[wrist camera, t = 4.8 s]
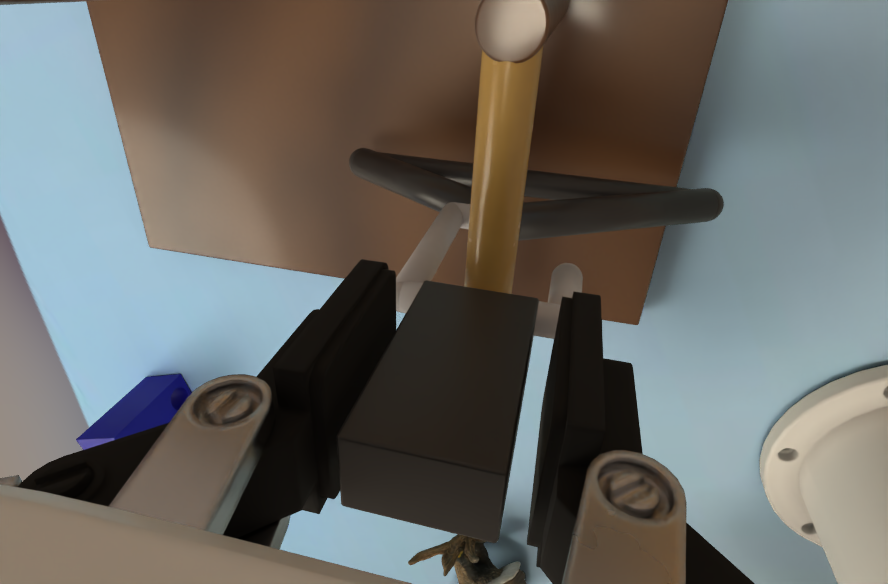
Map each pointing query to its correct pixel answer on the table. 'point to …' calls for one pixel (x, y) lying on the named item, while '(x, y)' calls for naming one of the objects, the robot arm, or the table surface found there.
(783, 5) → the table surface
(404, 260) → the rack
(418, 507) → the hanger
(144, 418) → the cable clip
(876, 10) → the table surface
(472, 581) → the eagle figurine
